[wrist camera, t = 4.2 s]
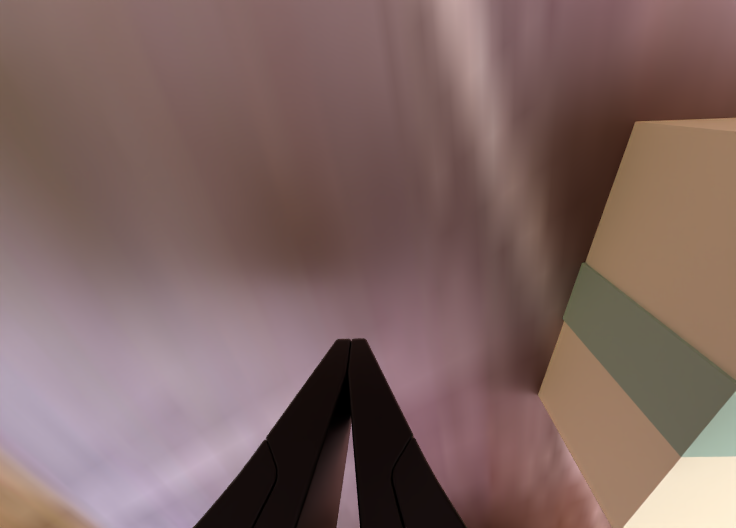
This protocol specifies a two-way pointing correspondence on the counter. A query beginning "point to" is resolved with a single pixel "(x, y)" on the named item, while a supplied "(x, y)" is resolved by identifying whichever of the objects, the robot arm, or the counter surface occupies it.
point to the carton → (657, 335)
